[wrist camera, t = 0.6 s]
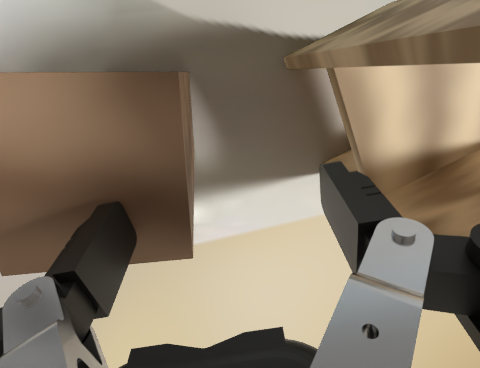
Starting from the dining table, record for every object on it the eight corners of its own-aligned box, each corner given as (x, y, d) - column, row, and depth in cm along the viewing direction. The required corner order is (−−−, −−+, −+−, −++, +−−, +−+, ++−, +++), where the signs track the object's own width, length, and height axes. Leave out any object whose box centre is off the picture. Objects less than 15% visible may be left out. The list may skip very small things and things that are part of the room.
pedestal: (104, 72, 27) (-78, 73, 9) (188, 72, 28) (178, 71, 10) (117, 153, 30) (1, 276, 12) (194, 150, 31) (192, 258, 13)
